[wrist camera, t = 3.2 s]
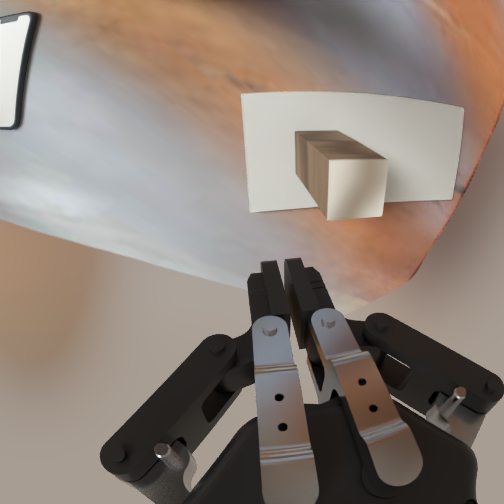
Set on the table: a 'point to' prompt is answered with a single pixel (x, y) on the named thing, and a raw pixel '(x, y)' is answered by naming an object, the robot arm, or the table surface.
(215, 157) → the table surface
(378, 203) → the walnut block
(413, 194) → the white board
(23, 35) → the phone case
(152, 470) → the robot arm
